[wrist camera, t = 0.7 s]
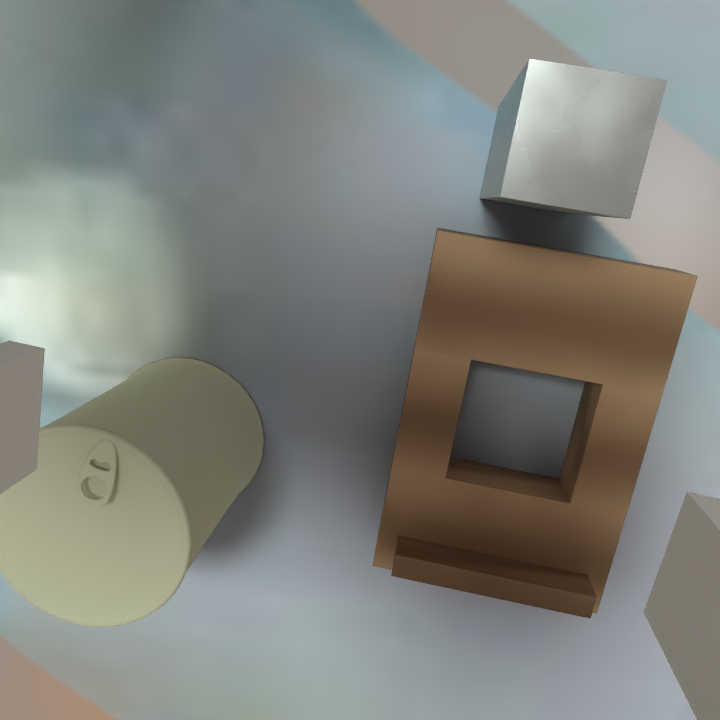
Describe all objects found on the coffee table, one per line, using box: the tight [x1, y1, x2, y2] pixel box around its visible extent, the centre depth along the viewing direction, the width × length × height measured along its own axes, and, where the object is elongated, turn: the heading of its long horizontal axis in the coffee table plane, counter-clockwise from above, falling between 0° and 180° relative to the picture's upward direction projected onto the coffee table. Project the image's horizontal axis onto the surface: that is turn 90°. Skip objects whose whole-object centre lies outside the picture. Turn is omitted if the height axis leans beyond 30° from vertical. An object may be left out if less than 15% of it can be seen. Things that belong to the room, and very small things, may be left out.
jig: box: [373, 228, 697, 618], centre depth 33 cm, size 18×12×5 cm, turn 171°
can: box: [0, 358, 264, 627], centre depth 32 cm, size 9×9×12 cm
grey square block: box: [480, 59, 667, 219], centre depth 27 cm, size 4×4×11 cm
